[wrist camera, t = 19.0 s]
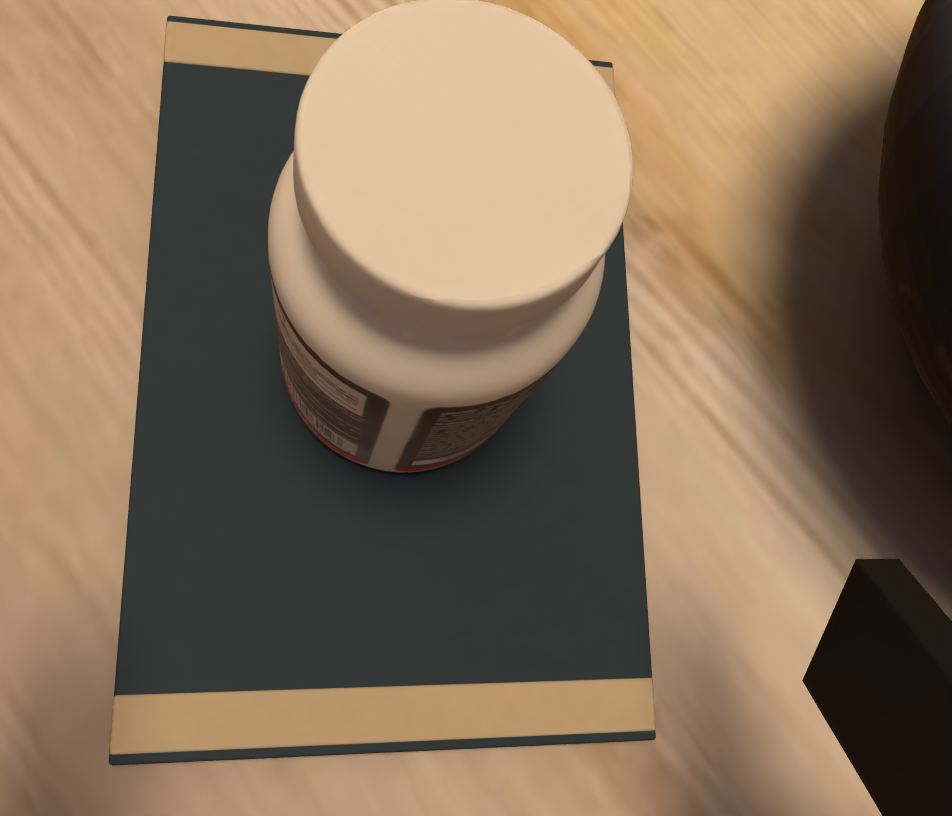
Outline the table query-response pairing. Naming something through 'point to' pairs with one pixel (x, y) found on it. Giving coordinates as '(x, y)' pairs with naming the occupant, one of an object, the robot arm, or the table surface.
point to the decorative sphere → (922, 199)
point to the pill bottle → (440, 227)
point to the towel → (352, 496)
